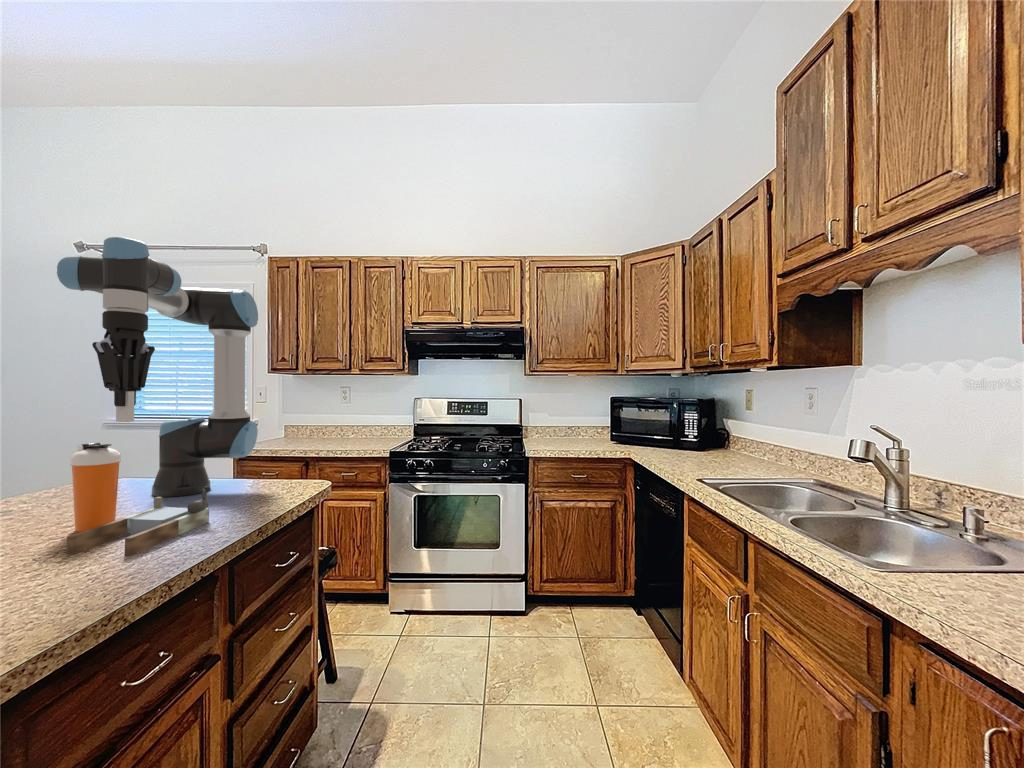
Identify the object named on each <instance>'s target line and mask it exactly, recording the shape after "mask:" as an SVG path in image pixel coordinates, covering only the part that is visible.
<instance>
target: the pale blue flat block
mask: <svg viewBox="0 0 1024 768" xmlns="http://www.w3.org/2000/svg"><path fill="white" fill-rule="evenodd" d="M187 514H190V512H189V511H188V509H187V507H173V506H172V507H171V506H162V508H160V509H157V510H154V511H151V512H148V513H145V514H142V515H139V516H136V517H133V518H130V519H129V522H130V533H129V536H132V535H135V534H137V533H140V532H143V531H145V530H148V529H151V528H153V527H156V526H158V525H161V524H164V523H166V522H169V521H172V520H174V519H177V518H179V517H182V516H185V515H187Z"/></svg>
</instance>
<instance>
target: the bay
mask: <svg viewBox="0 0 1024 768" xmlns="http://www.w3.org/2000/svg"><path fill="white" fill-rule="evenodd" d="M210 490H211V486H210V487H208V486H206V487H204V488H203V490H202V492H201V493H202V494H201V499H198V500H195V501H193V502H190V503H188V505H187V507H186V508H187V509H188V511H189V512H190V514H187V515H185V516H182V517H179V518H177V519H174V520H172V521H169V522H166V523H164V524H161V525H158V526H156V527H153V528H151V529H148V530H145V531H143V532H140V533H137V534H135V535H129V536H128V537H125V538H124V556H126V557H129V556H130V557H131V556H133V555H135V554H137V553H140V552H142V551H144V550H147V549H150V548H152V547H154V546H156V545H158V544H159V545H160V544H161V543H163V542H166V541H168V540H170V539H172V538H176V537H177V536H180V535H182V534H185V533H186V532H189V531H191V530H194V529H196V528H198V527H201V526H203V525H205V524H208V523H210V507H209V501H208V500H207V492H209V491H210ZM160 508H163V497H159V496H155V497H154V498H153V508H150V509H147V510H146V509H145V510H144V511H141V512H137V513H134V514H132V515H128V516H126V517H122V518H119V519H117V520H116V519H115V521H113V522H110V523H107V524H104V525H101V526H98V527H95V528H92V529H89V530H86V531H83V532H77V533H74V534H70V535H67V537H66V554H67V555H73V554H76V553H79V552H82V551H84V550H87V549H90V548H93V547H95V546H98V545H101V544H103V543H106V542H108V541H111V540H114V539H117V538H119V537H121V536H125V535H127V534H130V522H129V519H130V518H133V517H136V516H139V515H142V514H145V513H148V512H151V511H154V510H157V509H160Z"/></svg>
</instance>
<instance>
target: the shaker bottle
mask: <svg viewBox="0 0 1024 768" xmlns="http://www.w3.org/2000/svg"><path fill="white" fill-rule="evenodd" d="M112 445H113V444H111V443H103V444H102V443H101V442H91V443H83V444H79V445H78V446H77V451H76V452H74V453H73V454H72V455H71V456H70V466H71V473H72V474H71V476H72V494H73V512H74V513H73V514H74V530H75V532H77V533H79V532H83V531H86V530H89V529H92V528H95V527H98V526H101V525H104V524H107V523H110V522H113V521H116V513H117V501H118V499H117V498H118V489H119V487H118V486H119V472H120V462H121V461H122V460H121V459H122V458H121V455H122V454H121V453H120V452H119V451H118V450H117V449H115V448H111V446H112Z"/></svg>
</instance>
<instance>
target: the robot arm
mask: <svg viewBox="0 0 1024 768" xmlns="http://www.w3.org/2000/svg"><path fill="white" fill-rule="evenodd" d="M149 252H150V251H149V247H148V244H146V243H145V242H143V241H141V240H136V239H135V238H134V239H133V238H128V237H118V236H112V237H111V236H110V237H107V238H105V239H104V240H103V246H102V254H101V257H90V256H89V257H88V256H81V255H80V256H65V257H63V258H61V259H60V260H58V263H57V265H56V274H57V275H56V276H57V278H58V280H59V282H60V283H61V284H62V285H63V286H64V288H66V289H69V290H74V291H75V290H76V291H77V290H78V291H80V292H85V291H91V292H95V293H98V294H102V308H103V309H105V310H104V311H103V312H102V321H101V323H102V324H101V326H102V328H103V329H104V330H105V334H104V336H103V339H102V340H100V341H94V342H92V344H91V345H92V348H93V349H94V351H95V352H96V355H97V359H98V363H99V369H100V372H101V373H100V374H101V379H102V383H103V387H104V388H105V389H108V391H110V392H113V393H114V394H113V397H114V398H113V399H114V401H113V404H114V407H115V422H116V423H117V422H118V423H121V422H122V423H130V422H132V423H133V422H135V406H136V404H137V392H140V391H141V390H142V389H144V388H145V387H146V382H147V379H148V374H149V367H150V364H151V358H152V356H153V354H154V353H155V350H156V348H155V346H154V345H152V346H151V345H149V344H147V342H146V340H147V339H146V337H145V332H147V331H148V330H149V316H148V314H145V313H148V312H149V309H153V310H156V311H157V313H158V314H160V315H162V316H164V317H166V318H170V319H173V320H177V321H181V322H184V323H188V324H193V325H199V326H200V325H201V326H208V332H209V333H211V334H212V335H213V347H214V348H213V411H212V413H210V415H208V417H207V421H206V419H205V417H203V416H202V417H191V418H185V419H184V418H183V419H175V420H169V421H164V422H163V423H161V425H160V427H159V435H158V438H159V442H158V443H159V447H158V448H159V449H158V450H159V451H158V452H159V453H158V454H159V457H158V458H159V460H158V461H159V466H158V467H159V468H158V471H157V474H156V476H155V479H154V482H153V485H152V486H151V495H152V496H153V497H162V498H164V497H165V498H168V497H170V498H171V497H182V496H189V495H190V496H191V495H195V494H201V493H202V490H203V488H204V487H206V486H208V487H210V488H211V480H210V478H209V475H208V472H207V470H206V467H205V459H226V458H227V459H236V458H237V459H238V458H246V457H248V456H249V455H250V454H251V453H252V452H253V450H254V448H255V445H256V443H257V439H258V433H259V431H258V430H259V428H258V426H257V423H256V422H254V421H253V420H251V415H250V413H248V412H247V411H246V338H247V337H248V336H249V335H250V334H251V333H252V329H251V328H254V327H256V326H257V325H258V321H259V312H258V306H257V303H256V300H255V299H254V297H253V296H252V294H251V293H250V292H248V291H246V290H242V289H235V288H205V287H204V288H203V287H181V286H182V277H181V275H180V274H179V272H178V271H177V270H176V269H174V268H173V267H171V266H170V265H168V264H166V263H164V262H160V261H158V260H155V259H152V258H151V257H150V253H149Z"/></svg>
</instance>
